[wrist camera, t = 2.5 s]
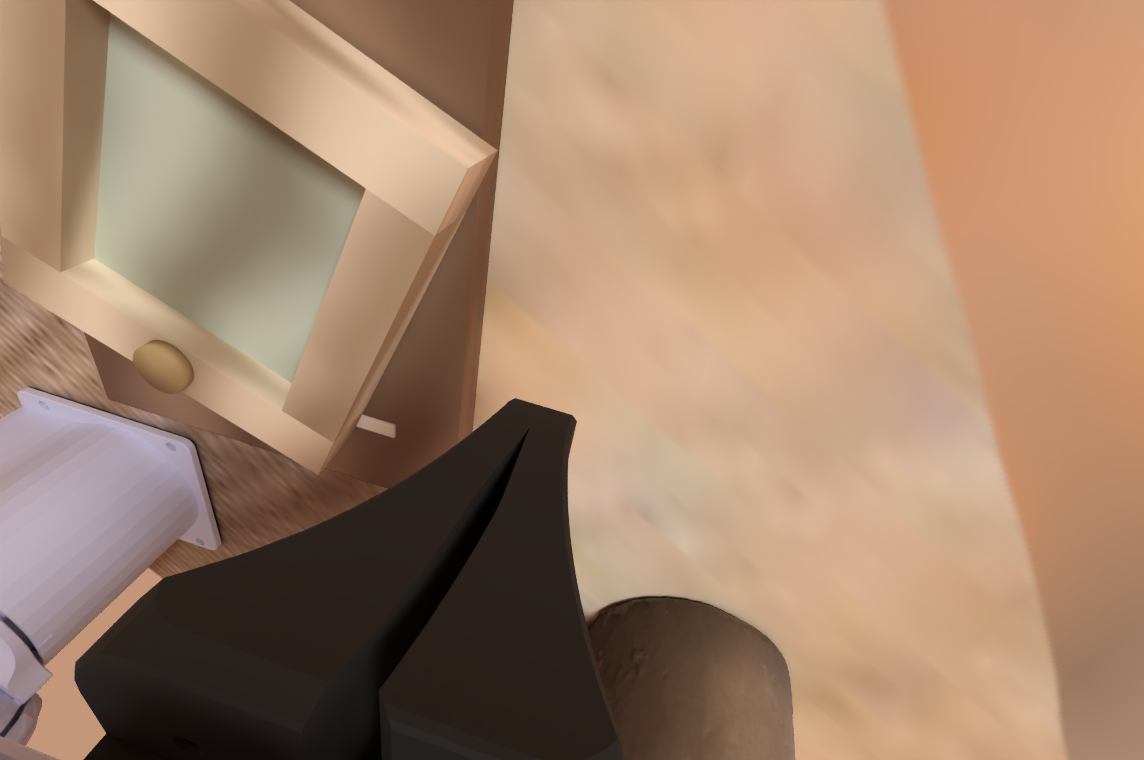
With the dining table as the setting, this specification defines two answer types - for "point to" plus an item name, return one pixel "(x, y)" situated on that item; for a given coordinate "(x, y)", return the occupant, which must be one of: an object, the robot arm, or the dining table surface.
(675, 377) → the dining table surface
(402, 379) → the walnut board
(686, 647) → the pillar candle
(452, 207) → the cabinet door with knob
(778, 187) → the dining table surface
